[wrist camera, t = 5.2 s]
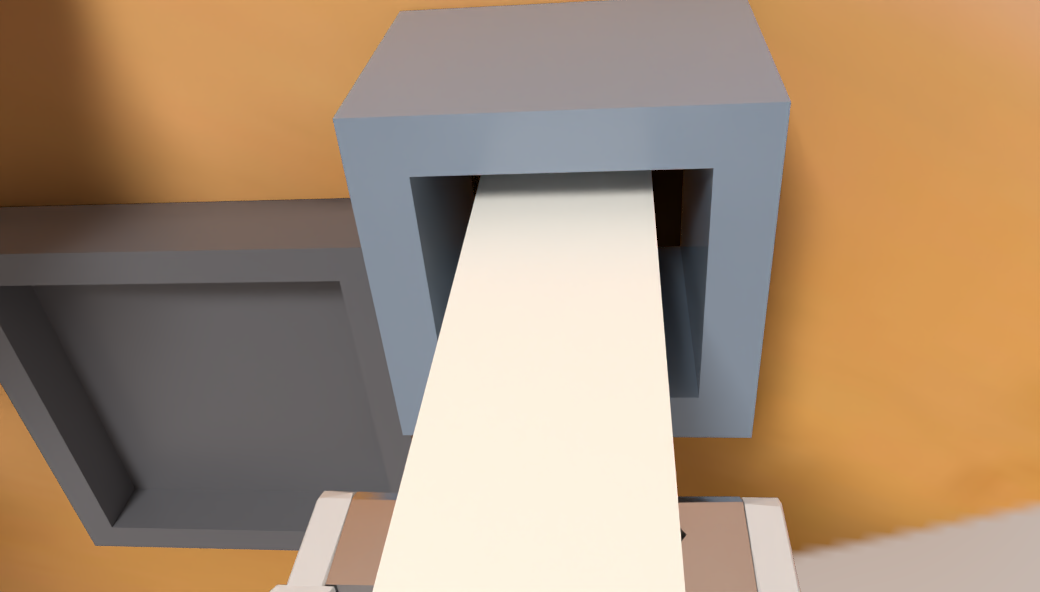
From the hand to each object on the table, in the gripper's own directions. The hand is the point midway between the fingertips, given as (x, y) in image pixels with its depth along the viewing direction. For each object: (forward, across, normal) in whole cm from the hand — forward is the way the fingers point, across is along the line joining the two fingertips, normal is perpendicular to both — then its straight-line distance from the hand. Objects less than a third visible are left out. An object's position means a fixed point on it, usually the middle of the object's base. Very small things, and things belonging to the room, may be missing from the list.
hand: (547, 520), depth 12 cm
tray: (+12, +11, +7) cm, 17 cm away
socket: (+12, 0, 0) cm, 12 cm away
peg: (+12, 0, 0) cm, 12 cm away
